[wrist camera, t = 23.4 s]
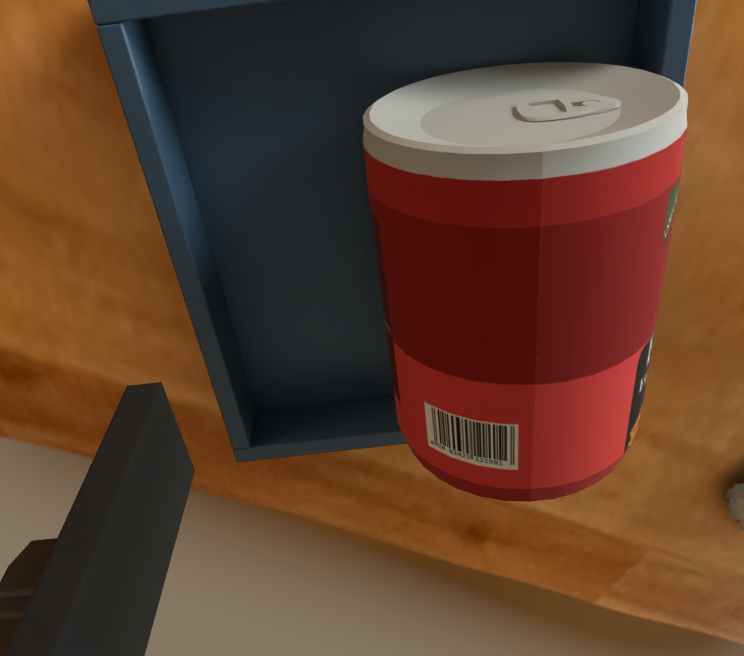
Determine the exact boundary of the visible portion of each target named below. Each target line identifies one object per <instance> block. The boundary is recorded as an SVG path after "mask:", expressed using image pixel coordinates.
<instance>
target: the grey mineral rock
mask: <svg viewBox="0 0 744 656" xmlns="http://www.w3.org/2000/svg"><path fill="white" fill-rule="evenodd" d="M726 490H727V493H729V494H728V495H723V497H726V498H729V499H730V501H729V502H728V504H727V505H728V506H729V507H728V508H729V509H730V510H729V512H730V514H732V515H733V516H734V517H733V519H734V520H736V519H739V523H737V524H739V525H742V526H741V527H742V530H744V483H738V484H734V486H733V487H732V488H730V489H726Z"/></svg>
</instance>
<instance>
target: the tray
mask: <svg viewBox="0 0 744 656" xmlns="http://www.w3.org/2000/svg"><path fill="white" fill-rule="evenodd" d="M88 3H89V6H90V10H91V13H92V16H93V19H94V22H95V23H96V24H97V25H98V26H97V31H98V34H99V37H100V40H101V43H102V46H103V49H104V53H105V56H106V59H107V62H108V65H109V68H110V71H111V74H112V77H113V80H114V83H115V87H116V90H117V93H118V96H119V99H120V102H121V105H122V108H123V111H124V114H125V117H126V120H127V124H128V127H129V130H130V133H131V136H132V139H133V142H134V145H135V148H136V151H137V154H138V158H139V161H140V164H141V167H142V170H143V173H144V176H145V179H146V182H147V185H148V188H149V191H150V195H151V198H152V201H153V204H154V207H155V210H156V213H157V216H158V219H159V222H160V225H161V229H162V232H163V235H164V238H165V241H166V244H167V247H168V250H169V253H170V256H171V259H172V262H173V266H174V269H175V272H176V275H177V278H178V281H179V284H180V287H181V290H182V293H183V296H184V300H185V303H186V306H187V309H188V312H189V315H190V318H191V321H192V324H193V327H194V330H195V333H196V337H197V340H198V343H199V346H200V349H201V352H202V355H203V358H204V361H205V364H206V367H207V371H208V374H209V377H210V380H211V383H212V386H213V389H214V392H215V395H216V398H217V401H218V404H219V408H220V411H221V414H222V417H223V420H224V423H225V426H226V429H227V432H228V435H229V438H230V442H231V445H232V448H233V451H234V454H235V458H236V461H237V462H245V461H254V460H263V459H272V458H281V457H290V456H299V455H308V454H317V453H326V452H335V451H344V450H353V449H362V448H371V447H380V446H389V445H398V444H407V441H406V440H405V438H404V436H403V433H402V431H401V429H400V427H399V424H398V419H397V411H396V403H395V395H394V388H393V380H392V372H391V364H390V356H389V348H388V341H387V333H386V325H385V317H384V309H383V301H382V294H381V286H380V278H379V270H378V262H377V254H376V247H375V239H374V231H373V223H372V215H371V207H370V200H369V192H368V184H367V172H366V161H365V153H364V145H363V133H364V124H363V115H364V113H365V112H366V110H367V108H368V107H370V106H371V105H372V104H373V103H374V102H375V101H377V100H378V99H380V98H382V97H384V96H385V95H387V94H389V93H391V92H393V91H394V90H397V89H399V88H402V87H404V86H407V85H409V84H412V83H415V82H419V81H422V80H425V79H428V78H432V77H436V76H441V75H445V74H449V73H454V72H459V71H465V70H471V69H476V68H484V67H492V66H500V65H511V64H523V63H543V62H581V63H599V64H609V65H617V66H625V67H630V68H635V69H640V70H645V71H648V72H651V73H654V74H658V75H661V76H663V77H666V78H668V79H670V80H672V81H673V82H675V83H677V84H679V85H680V86H681V87H682V88H683V89H684V83H685V76H686V70H687V63H688V56H689V50H690V43H691V37H692V30H693V24H694V17H695V11H696V4H697V0H88Z"/></svg>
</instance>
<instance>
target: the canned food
mask: <svg viewBox="0 0 744 656" xmlns="http://www.w3.org/2000/svg"><path fill="white" fill-rule="evenodd" d="M687 106H688V95H687V92H686V91H685V90H684V89H683V88H682V87H681V86H680V85H679V84H677V83H675V82H673V81H672V80H670V79H668V78H666V77H663V76H661V75H658V74H654V73H651V72H648V71H645V70H640V69H635V68H630V67H625V66H617V65H609V64H599V63H581V62H543V63H523V64H511V65H500V66H492V67H484V68H476V69H471V70H465V71H459V72H454V73H449V74H445V75H441V76H436V77H432V78H428V79H425V80H422V81H419V82H415V83H412V84H409V85H407V86H404V87H402V88H399V89H397V90H394V91H393V92H391V93H389V94H387V95H385V96H384V97H382V98H380V99H378V100H377V101H375V102H374V103H373V104H372V105H371V106H370V107H368V108H367V110H366V112H365V113H364V115H363V124H364V133H363V145H364V153H365V161H366V172H367V184H368V192H369V200H370V207H371V215H372V223H373V231H374V239H375V247H376V254H377V262H378V270H379V278H380V286H381V294H382V301H383V309H384V317H385V325H386V333H387V341H388V348H389V356H390V364H391V372H392V380H393V388H394V395H395V403H396V411H397V419H398V424H399V427H400V429H401V431H402V433H403V436H404V438H405V440H406V441H407V443H408V445H409V447H410V448H411V450H412V452H413V454H414V455H415V456H416V457H417V459H418V460H419V461H420V462H421V464H422V465H423V466H424V467H425V468H426V469H427V470H429V471H430V472H431V473H432V474H434V475H435V476H436V477H437V478H439V479H440V480H442V481H444V482H446V483H448V484H450V485H452V486H453V487H455V488H457V489H460V490H463V491H466V492H469V493H472V494H475V495H477V496H481V497H486V498H492V499H497V500H503V501H527V502H530V501H539V500H547V499H555V498H558V497H562V496H566V495H569V494H573V493H576V492H579V491H581V490H583V489H585V488H587V487H589V486H591V485H593V484H595V483H597V482H598V481H599V480H601V479H602V478H603V477H605V476H606V475H607V474H609V473H610V472H611V471H612V470H613V469H614V467H615V466H616V465H617V464H618V462H619V461H620V460H621V459H622V457H623V456H624V454H625V453H626V451H627V450H628V448H629V447H630V445H631V444H632V442H633V440H634V437H635V435H636V432H637V430H638V427H639V421H640V415H641V409H642V403H643V397H644V391H645V385H646V379H647V373H648V367H649V361H650V355H651V349H652V343H653V337H654V331H655V325H656V319H657V313H658V307H659V301H660V295H661V289H662V283H663V277H664V271H665V265H666V259H667V253H668V247H669V241H670V235H671V229H672V223H673V217H674V211H675V205H676V199H677V193H678V187H679V181H680V175H681V167H682V157H683V150H684V144H685V138H686V132H687V116H686V112H687Z"/></svg>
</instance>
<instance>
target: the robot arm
mask: <svg viewBox="0 0 744 656" xmlns="http://www.w3.org/2000/svg"><path fill="white" fill-rule="evenodd" d="M194 471H195V470H194V467H193V464H192V462H191V459H190V456H189V454H188V451H187V448H186V446H185V443H184V441H183V438H182V435H181V433H180V430H179V427H178V425H177V422H176V420H175V417H174V414H173V412H172V409H171V406H170V404H169V401H168V399H167V396H166V393H165V391H164V388H163V385H162V383H161V382H159V383H149V384H140V385H131V386H127V387H126V389H125V392H124V394H123V396H122V398H121V400H120V402H119V405H118V407H117V409H116V411H115V413H114V416H113V418H112V420H111V422H110V424H109V427H108V429H107V431H106V433H105V435H104V438H103V440H102V442H101V444H100V446H99V448H98V451H97V453H96V455H95V457H94V459H93V462H92V464H91V466H90V468H89V470H88V473H87V475H86V477H85V479H84V482H83V484H82V486H81V488H80V490H79V492H78V494H77V497H76V499H75V501H74V503H73V506H72V508H71V510H70V512H69V514H68V516H67V519H66V521H65V523H64V525H63V527H62V530H61V532H60V534H59V536H58V538H55V539H46V540H35V541H31V542H30V543H29V544H28V545H27V547H26V548H25V549H24V550H23V551H22V552H21V553H20V554H19V555H18V557H17V558H15V560H14V561H13V562H12V563H11V564H10V565H9V566H8V568H7V570H6V572H5V574H4V576H3V578H2V580H1V582H0V656H144V655H145V652H146V648H147V644H148V640H149V637H150V633H151V629H152V626H153V622H154V618H155V615H156V611H157V607H158V603H159V600H160V596H161V593H162V589H163V585H164V582H165V578H166V574H167V570H168V567H169V563H170V559H171V556H172V552H173V549H174V544H175V541H176V538H177V534H178V530H179V526H180V523H181V519H182V516H183V512H184V508H185V504H186V501H187V497H188V493H189V490H190V486H191V482H192V479H193V475H194Z"/></svg>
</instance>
